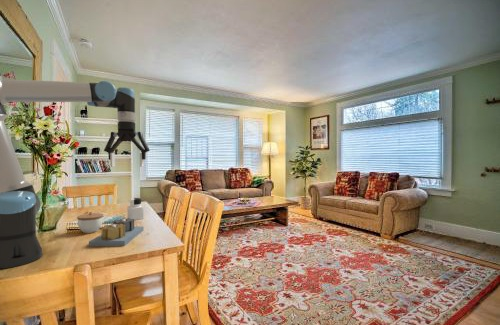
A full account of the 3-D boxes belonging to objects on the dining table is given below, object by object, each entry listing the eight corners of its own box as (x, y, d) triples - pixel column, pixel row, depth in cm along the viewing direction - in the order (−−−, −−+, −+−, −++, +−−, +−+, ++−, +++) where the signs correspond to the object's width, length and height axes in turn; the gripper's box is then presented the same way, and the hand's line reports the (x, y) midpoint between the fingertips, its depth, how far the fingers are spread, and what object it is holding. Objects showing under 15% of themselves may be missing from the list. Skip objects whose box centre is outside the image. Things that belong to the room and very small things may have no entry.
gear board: (88, 246, 104) (88, 229, 104) (114, 230, 126) (114, 216, 126) (124, 245, 105) (124, 228, 105) (143, 230, 127) (143, 216, 127)
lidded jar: (108, 228, 130) (108, 210, 130) (93, 234, 119) (93, 214, 119) (88, 227, 131) (88, 209, 131) (71, 234, 120) (71, 214, 120)
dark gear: (110, 233, 115) (110, 223, 115) (115, 228, 124) (115, 218, 123) (131, 232, 117) (131, 222, 117) (135, 226, 126) (135, 217, 126)
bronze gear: (97, 240, 106) (97, 229, 105) (107, 233, 114) (107, 223, 114) (119, 239, 106) (119, 228, 106) (128, 233, 115) (128, 223, 115)
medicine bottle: (140, 216, 156) (139, 196, 156) (143, 218, 150) (143, 198, 150) (127, 218, 151) (127, 198, 151) (130, 220, 146) (130, 199, 146)
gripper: (95, 120, 117) (96, 167, 118) (150, 120, 118) (151, 166, 119) (103, 122, 125) (104, 166, 125) (155, 122, 126) (156, 166, 126)
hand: (127, 166), depth 122 cm, fingers open, 13 cm apart
